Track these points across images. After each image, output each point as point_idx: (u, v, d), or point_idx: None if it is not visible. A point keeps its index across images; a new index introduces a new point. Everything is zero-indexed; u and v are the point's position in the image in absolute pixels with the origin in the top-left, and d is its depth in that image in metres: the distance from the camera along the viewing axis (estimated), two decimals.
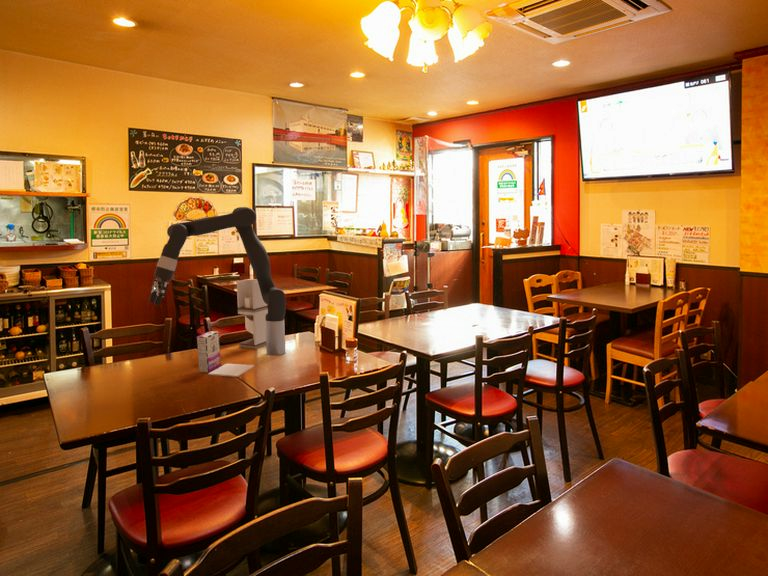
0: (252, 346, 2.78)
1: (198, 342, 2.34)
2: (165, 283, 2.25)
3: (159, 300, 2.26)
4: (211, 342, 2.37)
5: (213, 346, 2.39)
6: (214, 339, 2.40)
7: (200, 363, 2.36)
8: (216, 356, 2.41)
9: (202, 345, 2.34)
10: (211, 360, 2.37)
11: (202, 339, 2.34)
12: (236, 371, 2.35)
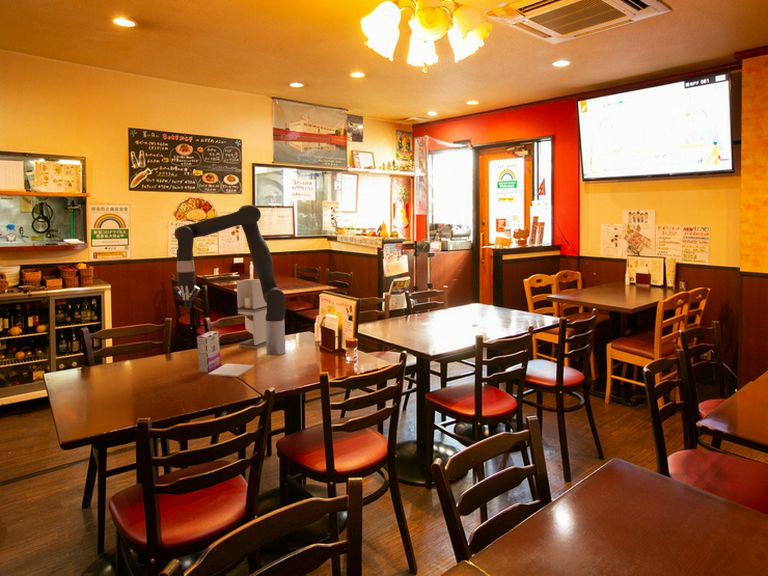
0: (252, 346, 2.78)
1: (198, 342, 2.34)
2: (198, 290, 2.41)
3: (190, 303, 2.43)
4: (211, 342, 2.37)
5: (213, 346, 2.39)
6: (214, 339, 2.40)
7: (200, 363, 2.36)
8: (216, 356, 2.41)
9: (202, 345, 2.34)
10: (211, 360, 2.37)
11: (202, 339, 2.34)
12: (236, 371, 2.35)
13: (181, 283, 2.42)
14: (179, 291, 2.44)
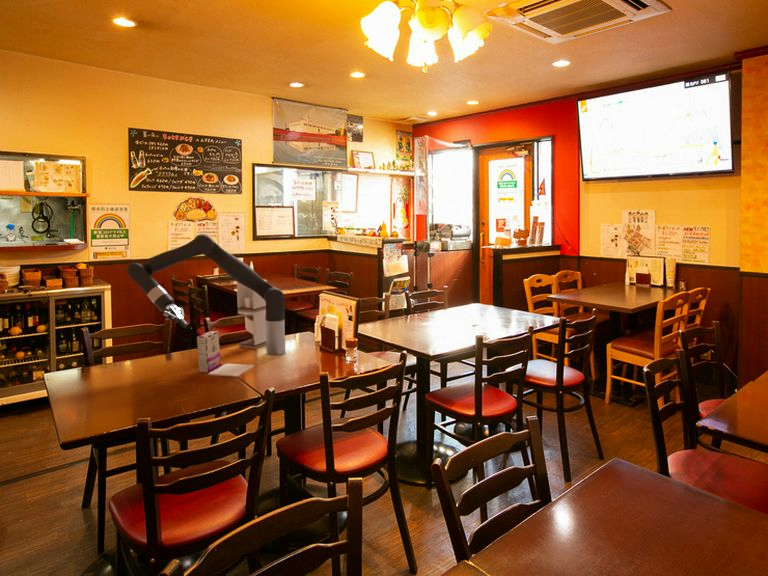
0: (252, 346, 2.78)
1: (198, 342, 2.34)
2: (165, 315, 2.35)
3: (181, 323, 2.39)
4: (211, 342, 2.37)
5: (213, 346, 2.39)
6: (214, 339, 2.40)
7: (200, 363, 2.36)
8: (216, 356, 2.41)
9: (202, 345, 2.34)
10: (211, 360, 2.37)
11: (201, 339, 2.34)
12: (236, 371, 2.35)
13: None
14: (179, 312, 2.45)
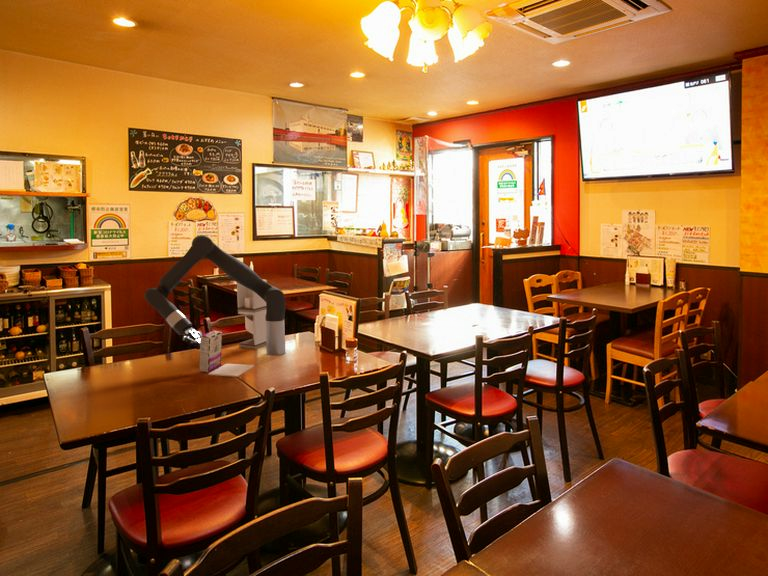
0: (252, 346, 2.78)
1: (201, 341, 2.34)
2: (184, 339, 2.35)
3: None
4: (214, 342, 2.37)
5: (215, 346, 2.39)
6: (217, 339, 2.39)
7: (201, 362, 2.35)
8: (217, 356, 2.41)
9: (205, 345, 2.34)
10: (212, 360, 2.37)
11: (205, 339, 2.33)
12: (236, 371, 2.35)
13: None
14: None
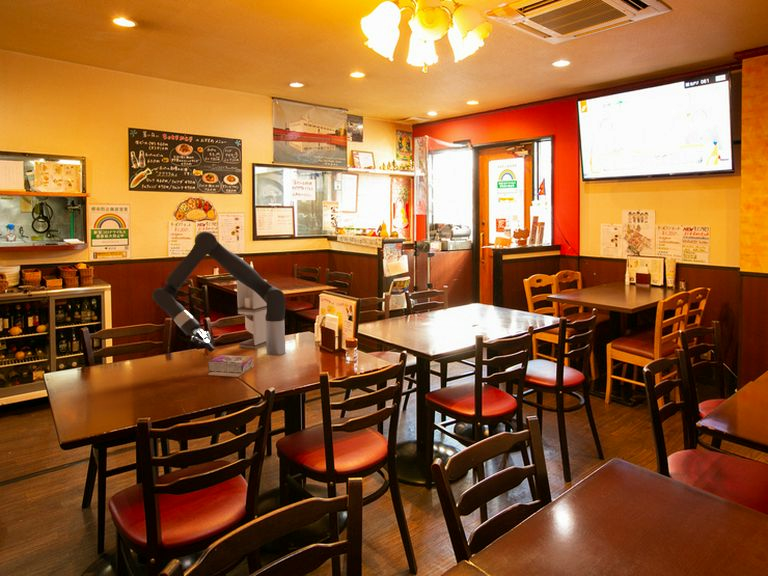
0: (252, 346, 2.78)
1: (236, 364, 2.32)
2: (192, 340, 2.34)
3: (208, 347, 2.38)
4: None
5: None
6: None
7: (216, 363, 2.34)
8: None
9: (234, 368, 2.32)
10: None
11: (239, 368, 2.32)
12: None
13: None
14: (206, 336, 2.44)
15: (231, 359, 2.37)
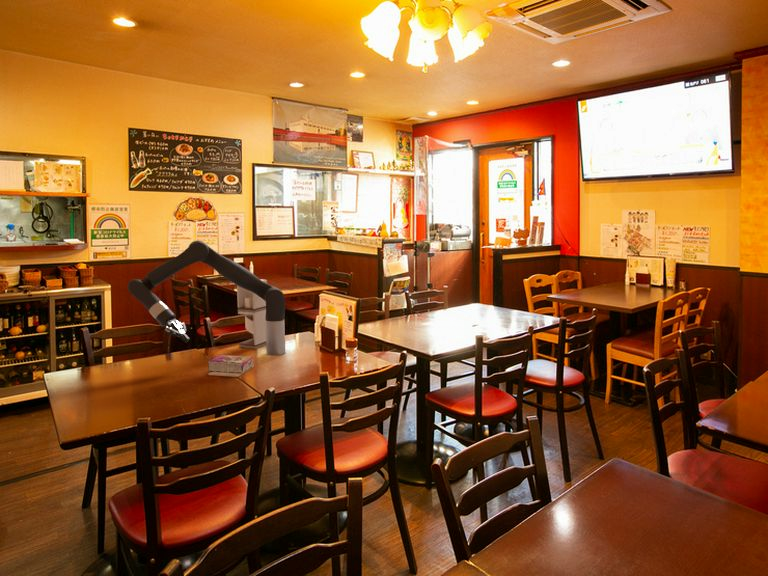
0: (252, 346, 2.78)
1: (236, 364, 2.32)
2: (167, 330, 2.36)
3: (182, 338, 2.40)
4: None
5: None
6: None
7: (216, 363, 2.34)
8: None
9: (234, 368, 2.32)
10: None
11: (239, 368, 2.32)
12: None
13: None
14: (181, 327, 2.46)
15: (231, 359, 2.37)
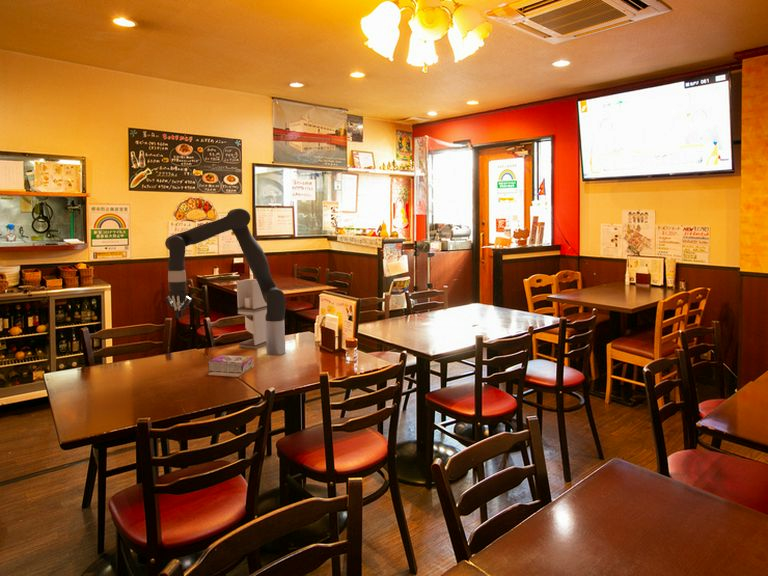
0: (252, 346, 2.78)
1: (236, 364, 2.32)
2: (190, 300, 2.38)
3: (182, 313, 2.40)
4: None
5: None
6: None
7: (216, 363, 2.34)
8: None
9: (234, 368, 2.32)
10: None
11: (239, 368, 2.32)
12: None
13: (172, 293, 2.39)
14: (170, 301, 2.41)
15: (231, 359, 2.37)
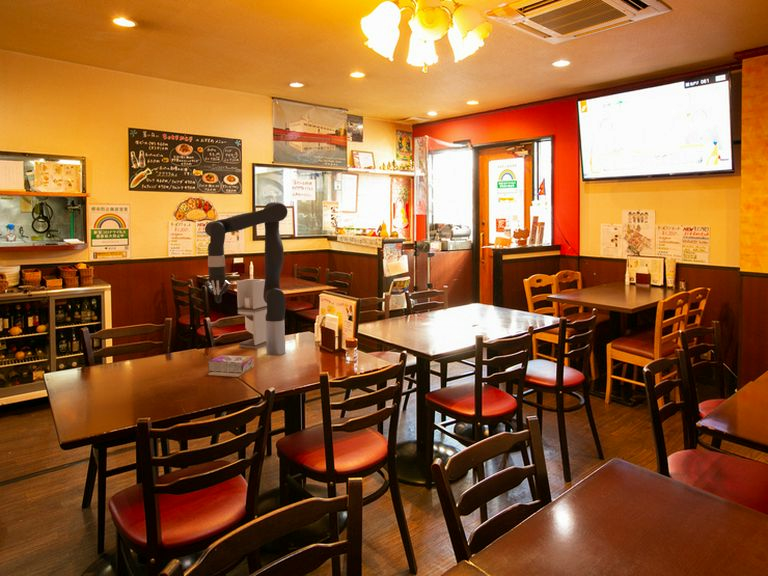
0: (252, 346, 2.78)
1: (236, 364, 2.32)
2: (229, 284, 2.44)
3: (221, 298, 2.46)
4: None
5: None
6: None
7: (216, 363, 2.34)
8: None
9: (234, 368, 2.32)
10: None
11: (239, 368, 2.32)
12: None
13: (212, 278, 2.45)
14: (210, 286, 2.47)
15: (231, 359, 2.37)
